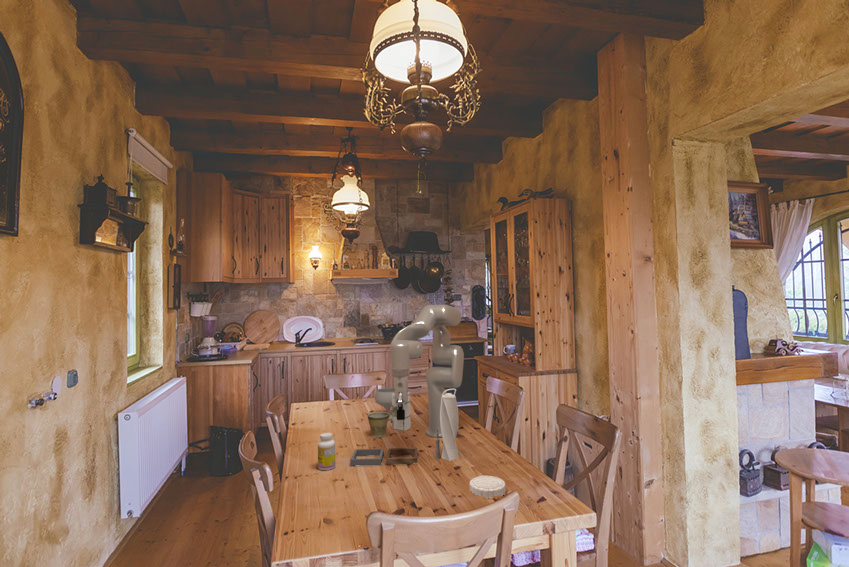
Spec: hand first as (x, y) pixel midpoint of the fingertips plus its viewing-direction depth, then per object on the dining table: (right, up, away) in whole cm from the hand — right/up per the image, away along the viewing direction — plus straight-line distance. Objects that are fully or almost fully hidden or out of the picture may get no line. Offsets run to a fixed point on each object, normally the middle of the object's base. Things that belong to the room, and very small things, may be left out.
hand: (401, 416), depth 178 cm
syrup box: (0, -5, 0) cm, 5 cm away
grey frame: (-14, -17, -1) cm, 22 cm away
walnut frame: (0, -17, -1) cm, 17 cm away
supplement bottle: (-29, -18, -8) cm, 34 cm away
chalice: (-11, -20, +63) cm, 67 cm away
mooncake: (+30, -16, -32) cm, 47 cm away
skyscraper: (+19, -17, -2) cm, 26 cm away
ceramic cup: (-12, -19, +32) cm, 39 cm away
